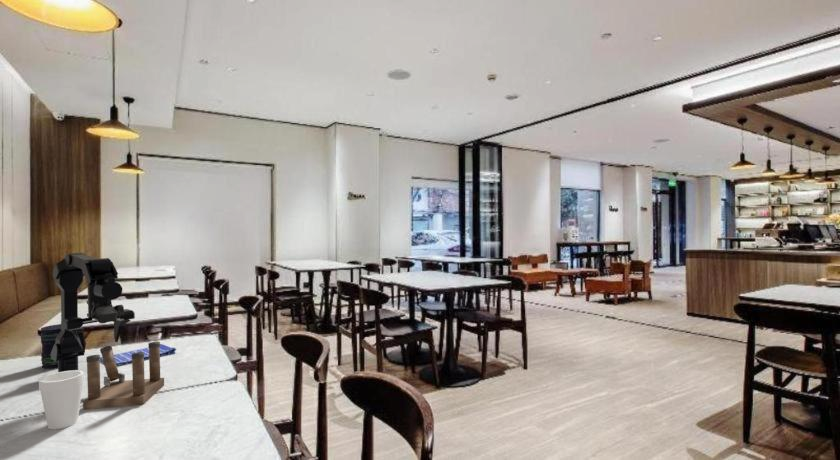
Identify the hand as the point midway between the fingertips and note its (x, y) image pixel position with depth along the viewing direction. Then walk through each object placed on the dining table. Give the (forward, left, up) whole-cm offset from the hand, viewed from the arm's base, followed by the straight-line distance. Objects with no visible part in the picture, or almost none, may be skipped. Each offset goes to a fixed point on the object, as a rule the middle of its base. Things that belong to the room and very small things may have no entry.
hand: (100, 345), depth 142 cm
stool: (+13, +2, -15) cm, 20 cm away
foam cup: (+20, -16, -15) cm, 29 cm away
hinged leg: (+5, +2, -11) cm, 12 cm away
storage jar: (-45, +2, -15) cm, 48 cm away
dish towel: (-30, +24, -16) cm, 42 cm away
